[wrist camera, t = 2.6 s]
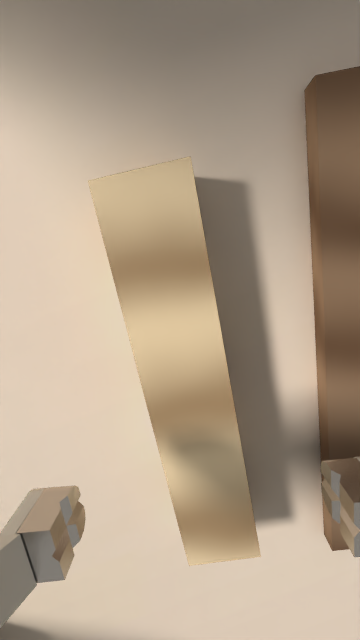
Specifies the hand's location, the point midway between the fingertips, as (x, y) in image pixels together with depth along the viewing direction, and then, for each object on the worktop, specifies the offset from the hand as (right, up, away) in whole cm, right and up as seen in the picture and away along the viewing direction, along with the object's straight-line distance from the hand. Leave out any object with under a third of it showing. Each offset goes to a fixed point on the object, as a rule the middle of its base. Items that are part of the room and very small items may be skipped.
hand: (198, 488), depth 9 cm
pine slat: (0, +3, +6) cm, 7 cm away
